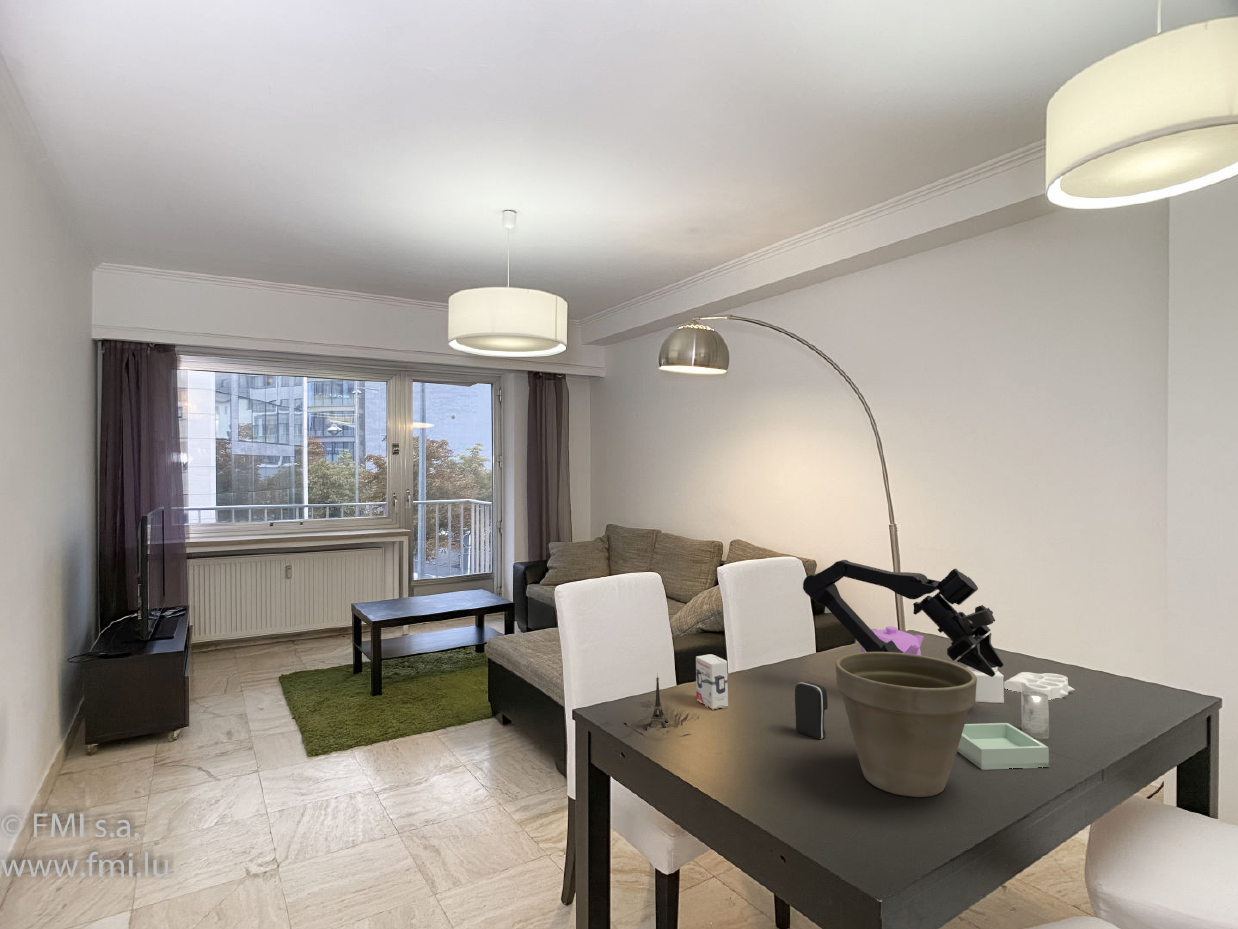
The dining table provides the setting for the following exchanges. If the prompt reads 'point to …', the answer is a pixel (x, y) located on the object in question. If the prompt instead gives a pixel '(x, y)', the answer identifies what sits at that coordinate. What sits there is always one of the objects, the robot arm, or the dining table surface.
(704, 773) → the dining table surface
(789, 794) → the dining table surface
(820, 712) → the battery charger
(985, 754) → the tray
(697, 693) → the ink box
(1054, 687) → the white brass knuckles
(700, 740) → the dining table surface
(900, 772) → the plant pot
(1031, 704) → the can
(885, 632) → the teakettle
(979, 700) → the medicine bottle
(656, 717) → the eiffel tower figurine
